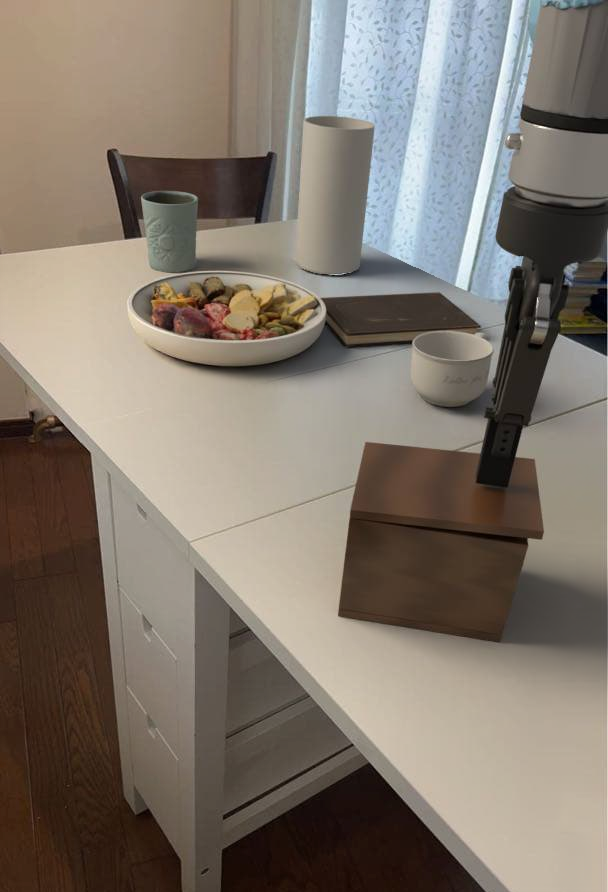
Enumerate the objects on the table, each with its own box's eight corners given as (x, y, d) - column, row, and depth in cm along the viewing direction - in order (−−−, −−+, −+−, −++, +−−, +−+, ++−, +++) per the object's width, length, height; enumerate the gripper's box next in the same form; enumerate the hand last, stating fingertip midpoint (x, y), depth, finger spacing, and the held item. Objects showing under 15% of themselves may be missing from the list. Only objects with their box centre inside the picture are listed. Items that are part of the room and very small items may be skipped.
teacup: (442, 422, 105) (453, 365, 100) (388, 390, 112) (396, 335, 107) (513, 399, 112) (527, 345, 107) (459, 370, 119) (469, 318, 114)
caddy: (497, 563, 81) (521, 472, 75) (500, 642, 72) (528, 545, 65) (352, 541, 82) (364, 449, 76) (337, 616, 73) (349, 518, 67)
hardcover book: (478, 339, 129) (481, 325, 128) (345, 347, 123) (346, 333, 121) (436, 303, 141) (438, 290, 140) (313, 310, 135) (314, 296, 134)
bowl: (183, 288, 139) (182, 242, 135) (347, 320, 132) (352, 272, 128) (91, 350, 116) (86, 297, 111) (284, 392, 109) (287, 337, 104)
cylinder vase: (326, 281, 147) (338, 131, 132) (281, 262, 154) (288, 118, 140) (372, 269, 154) (389, 126, 140) (328, 252, 162) (339, 114, 147)
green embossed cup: (164, 277, 143) (161, 207, 136) (133, 261, 149) (129, 193, 142) (210, 267, 149) (209, 199, 142) (178, 253, 155) (176, 187, 148)
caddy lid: (533, 466, 74) (534, 458, 74) (542, 540, 65) (544, 531, 64) (364, 449, 76) (365, 441, 75) (349, 518, 66) (350, 509, 66)
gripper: (502, 167, 61) (449, 439, 75) (508, 209, 50) (446, 516, 64) (602, 177, 60) (530, 450, 74) (630, 222, 50) (540, 530, 64)
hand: (491, 480), depth 69 cm, fingers closed
